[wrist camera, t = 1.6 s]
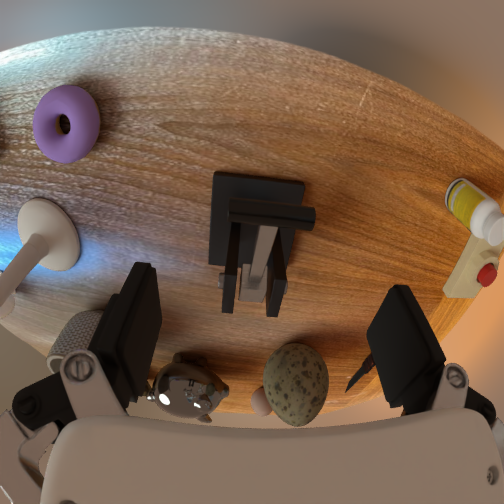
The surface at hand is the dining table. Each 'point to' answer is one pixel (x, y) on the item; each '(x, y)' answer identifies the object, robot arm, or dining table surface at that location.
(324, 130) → the dining table surface
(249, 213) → the lever
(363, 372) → the knife
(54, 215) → the candlestick
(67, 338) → the planter
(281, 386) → the decorative egg
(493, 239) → the supplement bottle
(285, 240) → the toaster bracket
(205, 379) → the piggy bank
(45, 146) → the donut
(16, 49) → the dining table surface
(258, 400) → the egg
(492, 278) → the button
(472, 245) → the power block
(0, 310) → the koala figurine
